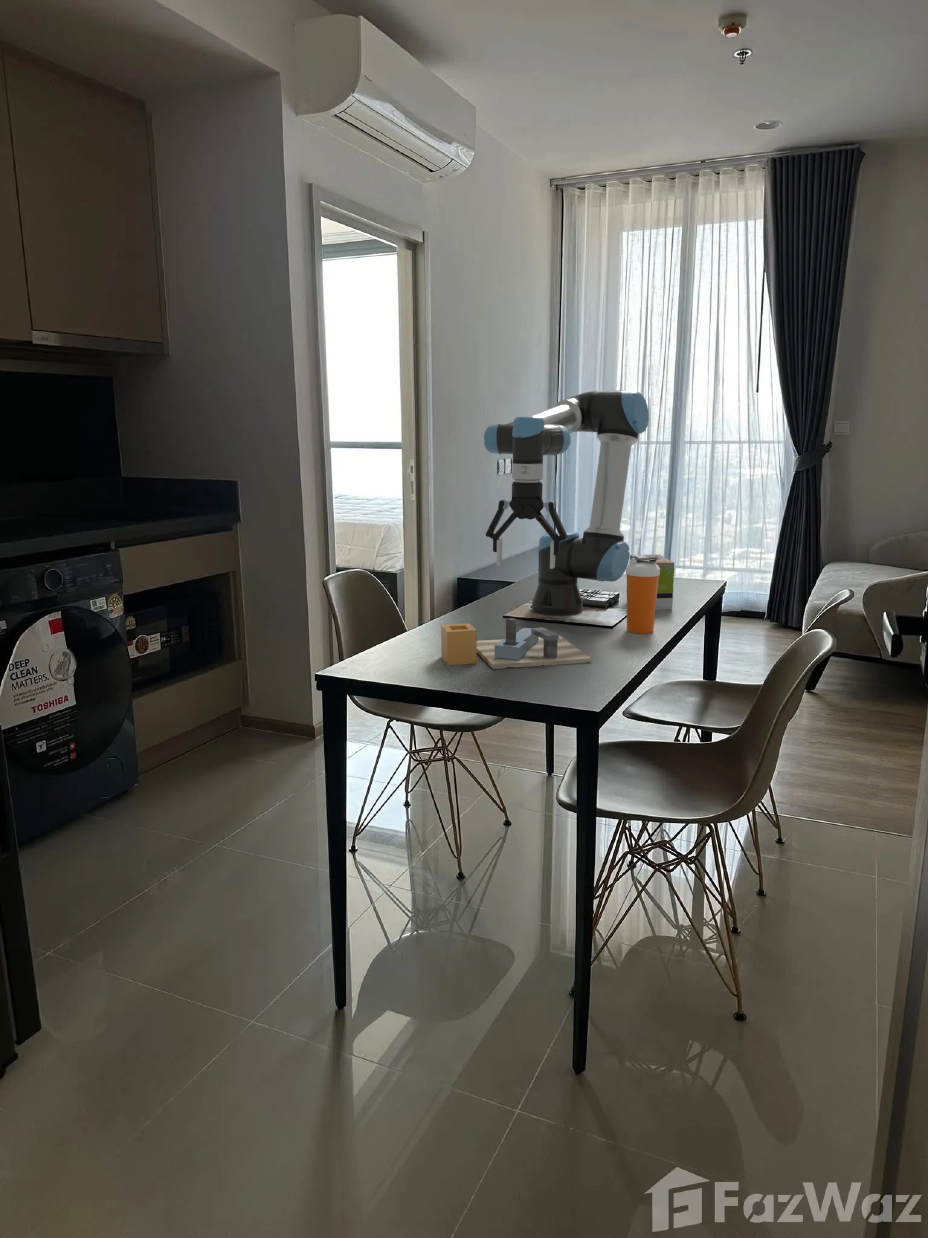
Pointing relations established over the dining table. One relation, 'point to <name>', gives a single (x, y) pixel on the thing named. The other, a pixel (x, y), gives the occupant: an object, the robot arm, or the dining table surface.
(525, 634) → the link
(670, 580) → the tea box
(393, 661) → the dining table surface
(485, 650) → the pintle base
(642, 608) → the shaker bottle
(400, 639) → the dining table surface
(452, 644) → the collar
